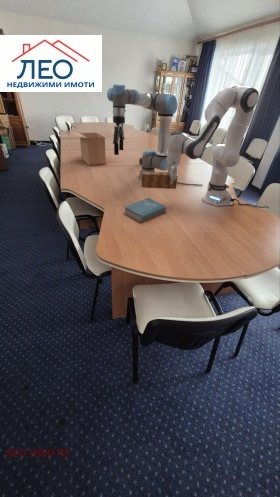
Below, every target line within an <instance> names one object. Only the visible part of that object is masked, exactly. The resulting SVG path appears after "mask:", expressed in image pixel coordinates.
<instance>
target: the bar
mask: <svg viewBox="0 0 280 497" xmlns="http://www.w3.org/2000/svg"><path fill="white" fill-rule="evenodd" d="M178 176H179V175H178V174H177V178H176V180H174V181H173V184H170V176H169V172H168V171H155V172H144V171H142V179H141V188H143V189H145V188H146V189H168V190H171V189H172V190H176V189H177V184H178V183H177V182H178Z"/></svg>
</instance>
